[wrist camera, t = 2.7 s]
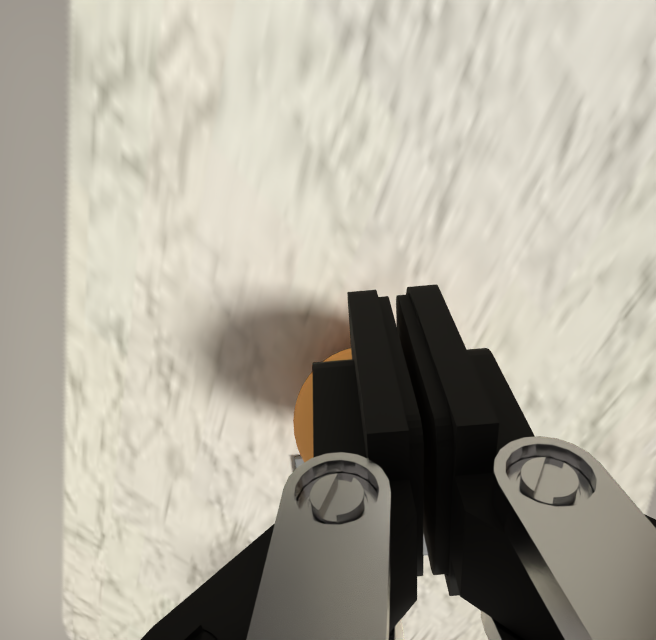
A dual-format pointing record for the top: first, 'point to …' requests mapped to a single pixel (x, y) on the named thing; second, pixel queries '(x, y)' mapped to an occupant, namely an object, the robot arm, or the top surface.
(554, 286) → the top surface
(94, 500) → the top surface
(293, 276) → the top surface
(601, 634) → the robot arm
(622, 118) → the top surface
